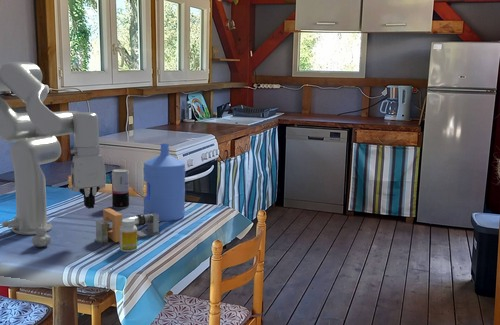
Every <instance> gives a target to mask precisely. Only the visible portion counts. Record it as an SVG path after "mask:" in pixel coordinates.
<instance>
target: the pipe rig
mask: <svg viewBox="0 0 500 325" xmlns="http://www.w3.org/2000/svg"><path fill="white" fill-rule="evenodd" d="M127 218H131V219H135V226H136V227H137V226H138V227H140V226H141V227H142V226H144V225H146V229H142V230H137V240H138V239H141V238H147V237H153V236H157V235H161V232H160V231H159V228H160V227H159V226H160V224H159V222H160V221H159V214H156V213H154V212H147V214H145V215H144V213H143V214H142V213H141V214H136V215H134V216H130V217H129V216H128V217H122V220H123V219H127ZM122 226H123V225H122ZM109 230H112V220H110V221H103V220H102V219H99V220H96V221H95V236H96V237H95V239H94V241H95V242H96V243H98V244H100V245H101V246H106V245H112V244H116V243H120V241H119V242H114V241H113V240H111V239H110V238H108V231H109Z"/></svg>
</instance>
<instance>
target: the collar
mask: <svg viewBox="0 0 500 325" xmlns="http://www.w3.org/2000/svg"><path fill="white" fill-rule="evenodd" d="M102 211H103V212H102V213H103V214H102V215H103V217H102V218H103V221H110V220H112V230H109V231H108V238H110V239H111V240H113V241H114V242H117V243H120V242H119V241H120V227H121V226H122V218H123V214H122V213H120V212H118V211H117V210H114V209H112V208H111V207H110V208H103V209H102Z"/></svg>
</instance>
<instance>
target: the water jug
mask: <svg viewBox="0 0 500 325" xmlns="http://www.w3.org/2000/svg"><path fill="white" fill-rule="evenodd" d="M159 145H160V149H159V150H160V154H159V155H158V156H155V157H153V158H150V159H148V160H146V161H145V162H143V163H144V164H143V181H144V182H145V183H146V195H145V196H144V198H143V215H145V214H147V212H154V213H156V214H159V222H173V221H178V220H181V219H182V218H184V216H185V214H186V209H185V199H186V198H185V196H186V186H185V185H186V182H185V180H186V163H185V162H184V161H182V160H181V159H178V158H176V157H174V156H172V155H170V148H169V146H170V143H160V144H159Z"/></svg>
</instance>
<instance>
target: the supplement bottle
mask: <svg viewBox="0 0 500 325" xmlns="http://www.w3.org/2000/svg"><path fill="white" fill-rule="evenodd" d="M126 218H127V217H126ZM122 225H123V226H121V227H120V242H119V250H120V252H123V253H131V252H135V251H137V249H138V239H137V231H138V227H137V226H135V219H131V218H127V219H123V220H122Z"/></svg>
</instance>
